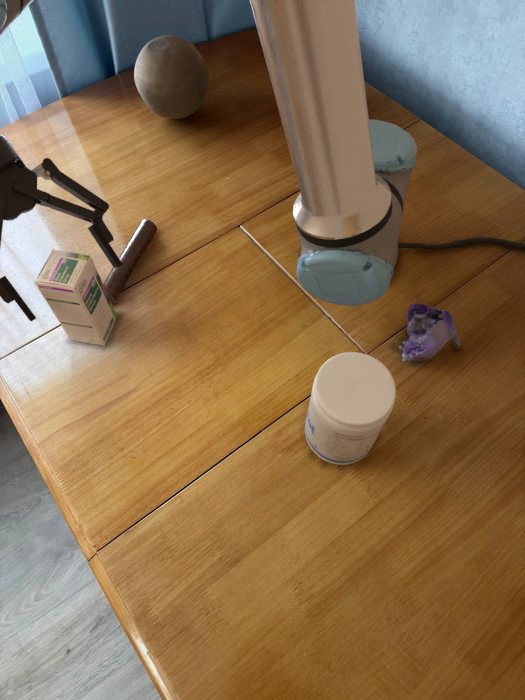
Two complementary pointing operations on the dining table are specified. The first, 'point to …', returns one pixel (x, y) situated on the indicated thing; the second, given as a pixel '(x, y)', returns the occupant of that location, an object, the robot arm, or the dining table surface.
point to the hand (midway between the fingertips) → (77, 292)
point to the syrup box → (77, 296)
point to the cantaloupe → (171, 76)
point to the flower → (427, 332)
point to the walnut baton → (129, 259)
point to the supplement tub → (348, 407)
